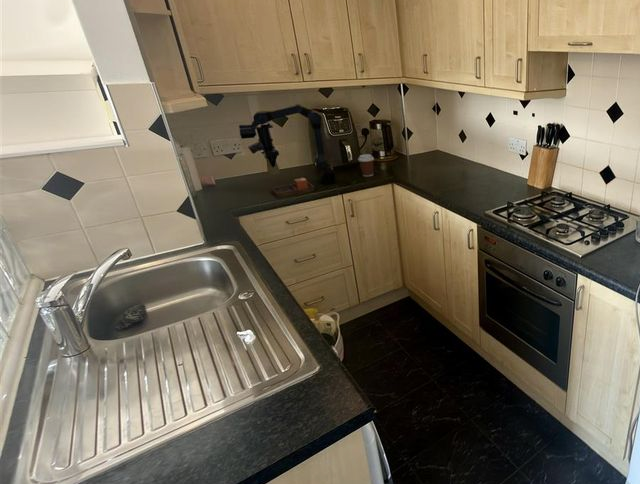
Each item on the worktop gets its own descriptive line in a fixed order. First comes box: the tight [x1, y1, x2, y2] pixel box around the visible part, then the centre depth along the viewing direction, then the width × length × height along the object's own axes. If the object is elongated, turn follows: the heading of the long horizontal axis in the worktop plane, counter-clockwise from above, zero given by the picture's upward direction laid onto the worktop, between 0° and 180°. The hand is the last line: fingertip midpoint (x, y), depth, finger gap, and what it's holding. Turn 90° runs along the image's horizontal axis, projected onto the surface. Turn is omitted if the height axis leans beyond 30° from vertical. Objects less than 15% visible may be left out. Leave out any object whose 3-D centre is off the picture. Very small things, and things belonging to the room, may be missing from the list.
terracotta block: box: [293, 177, 308, 190], centre depth 219 cm, size 5×5×5 cm
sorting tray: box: [271, 180, 316, 199], centre depth 217 cm, size 18×12×2 cm, turn 131°
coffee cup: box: [357, 153, 375, 178], centre depth 244 cm, size 9×9×12 cm
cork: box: [263, 155, 281, 176], centre depth 216 cm, size 6×6×11 cm
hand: (272, 166), depth 216 cm, fingers closed on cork, 4 cm apart
